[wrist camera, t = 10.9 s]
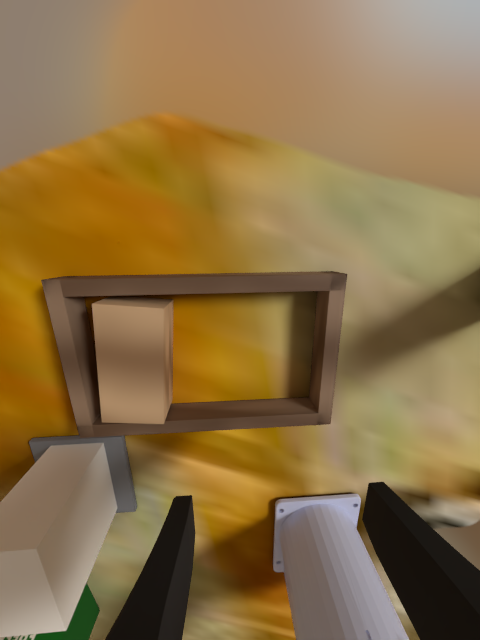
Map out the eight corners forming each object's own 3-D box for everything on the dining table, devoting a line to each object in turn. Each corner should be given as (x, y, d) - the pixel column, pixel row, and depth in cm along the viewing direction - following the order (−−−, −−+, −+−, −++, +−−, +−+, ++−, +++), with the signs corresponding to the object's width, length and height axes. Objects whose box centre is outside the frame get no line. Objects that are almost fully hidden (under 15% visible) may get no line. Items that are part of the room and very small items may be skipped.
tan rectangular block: (173, 397, 19) (163, 424, 16) (120, 395, 19) (101, 422, 16) (174, 298, 17) (163, 308, 14) (115, 294, 16) (91, 303, 14)
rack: (320, 407, 20) (330, 424, 18) (94, 418, 19) (79, 437, 17) (332, 271, 17) (347, 274, 15) (63, 276, 16) (41, 279, 14)
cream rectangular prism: (117, 508, 21) (66, 630, 14) (69, 511, 21) (-6, 637, 14) (103, 442, 19) (36, 549, 12) (50, 445, 19) (-48, 555, 12)
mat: (137, 506, 21) (135, 511, 21) (56, 512, 21) (52, 517, 21) (123, 433, 19) (121, 436, 19) (32, 438, 19) (28, 442, 18)
